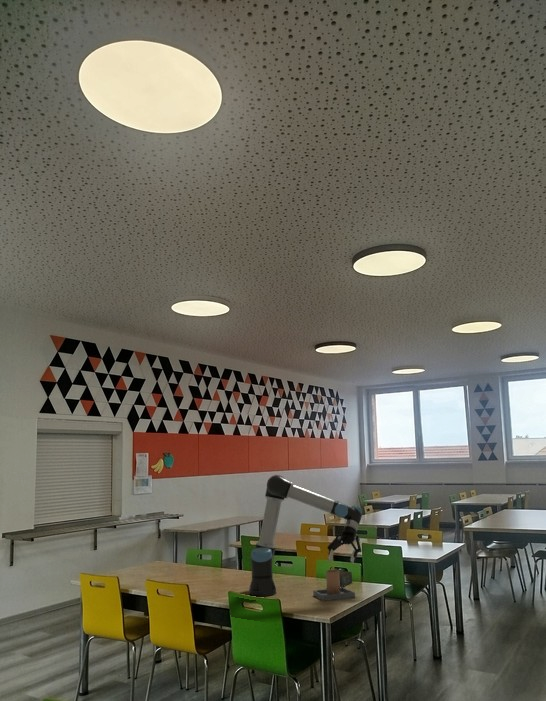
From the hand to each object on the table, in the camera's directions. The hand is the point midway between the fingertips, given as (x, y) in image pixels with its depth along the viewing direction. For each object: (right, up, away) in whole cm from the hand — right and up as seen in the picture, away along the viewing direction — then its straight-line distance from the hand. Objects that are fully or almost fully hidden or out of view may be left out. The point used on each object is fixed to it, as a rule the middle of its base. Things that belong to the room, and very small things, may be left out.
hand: (340, 561), depth 306 cm
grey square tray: (-5, -14, -11) cm, 19 cm away
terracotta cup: (-5, -14, -11) cm, 18 cm away
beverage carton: (+3, -22, +20) cm, 29 cm away
